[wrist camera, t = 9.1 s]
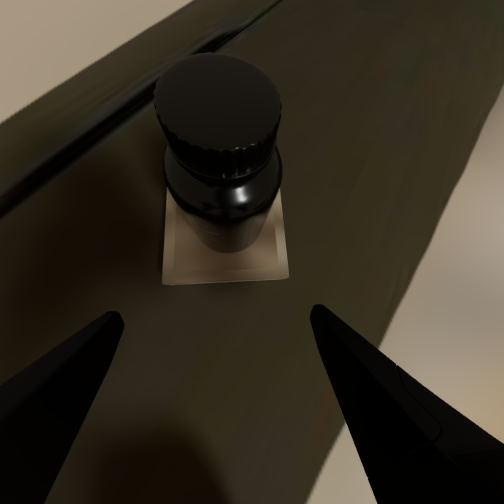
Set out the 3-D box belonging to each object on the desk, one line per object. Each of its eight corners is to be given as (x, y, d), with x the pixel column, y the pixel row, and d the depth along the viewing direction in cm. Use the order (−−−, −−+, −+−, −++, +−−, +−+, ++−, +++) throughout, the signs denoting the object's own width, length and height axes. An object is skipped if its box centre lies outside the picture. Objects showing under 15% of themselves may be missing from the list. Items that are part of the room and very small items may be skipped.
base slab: (283, 279, 20) (289, 277, 18) (169, 285, 18) (161, 283, 16) (273, 183, 22) (278, 171, 20) (174, 181, 21) (167, 168, 19)
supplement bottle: (222, 181, 19) (209, 7, 8) (273, 217, 19) (341, 94, 7) (178, 228, 17) (74, 94, 6) (234, 269, 17) (242, 215, 6)
